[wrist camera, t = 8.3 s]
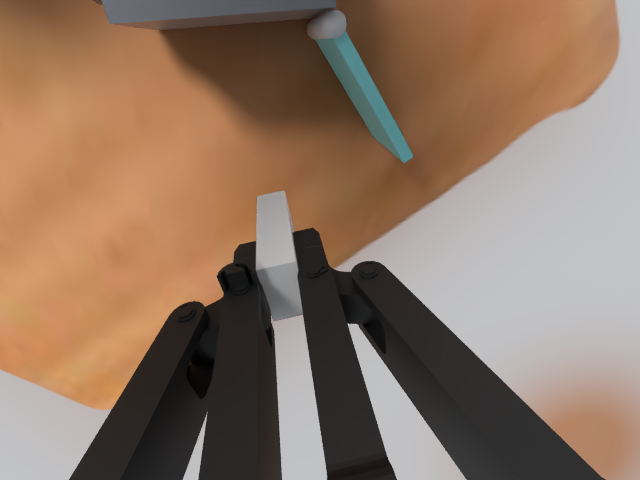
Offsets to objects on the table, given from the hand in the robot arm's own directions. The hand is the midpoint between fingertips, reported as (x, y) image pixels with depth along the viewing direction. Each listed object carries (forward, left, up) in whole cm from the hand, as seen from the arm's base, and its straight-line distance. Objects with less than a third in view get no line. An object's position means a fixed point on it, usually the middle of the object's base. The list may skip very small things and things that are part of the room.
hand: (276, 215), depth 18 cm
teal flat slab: (-4, +9, -20) cm, 22 cm away
